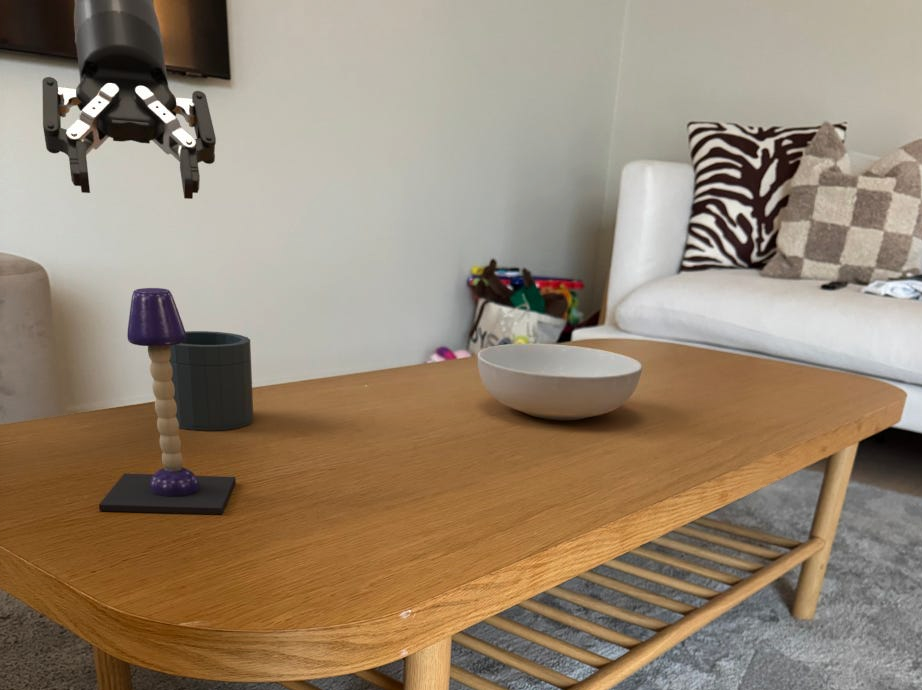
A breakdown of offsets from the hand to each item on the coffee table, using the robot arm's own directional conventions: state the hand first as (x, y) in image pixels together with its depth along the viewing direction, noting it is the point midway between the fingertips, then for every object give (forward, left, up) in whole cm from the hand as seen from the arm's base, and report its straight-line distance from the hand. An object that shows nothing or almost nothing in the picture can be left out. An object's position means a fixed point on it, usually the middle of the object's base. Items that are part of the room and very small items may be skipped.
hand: (138, 189), depth 83 cm
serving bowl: (+44, +28, -24) cm, 58 cm away
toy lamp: (+3, -11, -24) cm, 26 cm away
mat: (+3, -11, -24) cm, 27 cm away
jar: (+2, +17, -24) cm, 30 cm away
